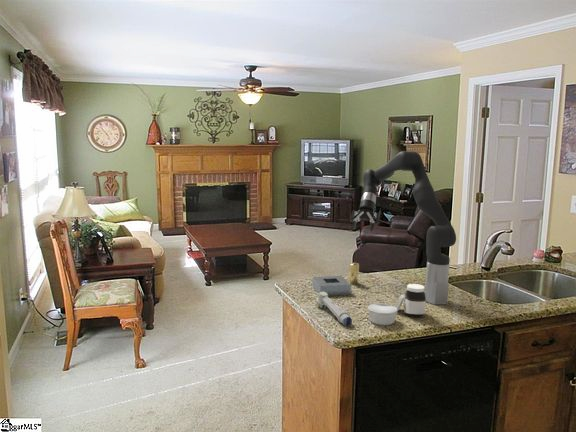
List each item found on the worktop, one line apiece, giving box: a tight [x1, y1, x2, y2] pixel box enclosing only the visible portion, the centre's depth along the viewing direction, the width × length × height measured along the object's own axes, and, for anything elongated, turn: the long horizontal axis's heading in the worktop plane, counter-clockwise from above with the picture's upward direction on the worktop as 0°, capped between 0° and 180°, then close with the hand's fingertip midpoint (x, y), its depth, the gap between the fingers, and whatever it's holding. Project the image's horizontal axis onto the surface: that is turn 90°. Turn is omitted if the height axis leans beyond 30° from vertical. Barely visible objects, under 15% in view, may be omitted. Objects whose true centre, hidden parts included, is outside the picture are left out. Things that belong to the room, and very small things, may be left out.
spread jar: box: [394, 283, 427, 318], centre depth 193 cm, size 12×11×12 cm
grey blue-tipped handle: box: [316, 292, 353, 327], centre depth 191 cm, size 5×7×25 cm
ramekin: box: [367, 302, 398, 326], centre depth 185 cm, size 11×11×5 cm
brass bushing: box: [348, 262, 360, 285], centre depth 232 cm, size 4×4×10 cm
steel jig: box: [312, 275, 352, 296], centre depth 221 cm, size 14×14×4 cm
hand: (362, 229), depth 239 cm, fingers open, 8 cm apart
